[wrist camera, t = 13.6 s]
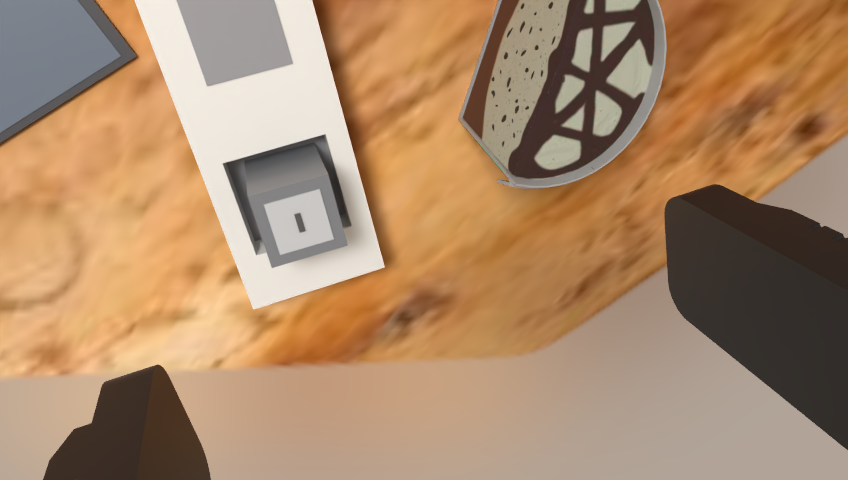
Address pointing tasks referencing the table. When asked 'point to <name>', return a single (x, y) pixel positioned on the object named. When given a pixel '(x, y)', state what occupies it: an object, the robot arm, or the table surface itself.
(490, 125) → the food container
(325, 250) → the block
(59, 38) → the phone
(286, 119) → the power strip
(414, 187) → the table surface
